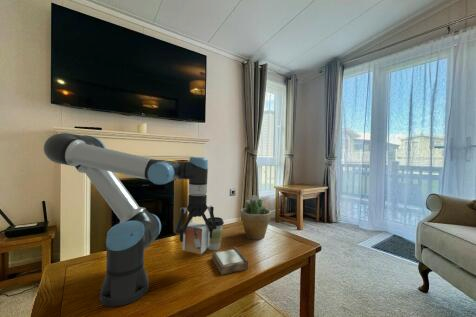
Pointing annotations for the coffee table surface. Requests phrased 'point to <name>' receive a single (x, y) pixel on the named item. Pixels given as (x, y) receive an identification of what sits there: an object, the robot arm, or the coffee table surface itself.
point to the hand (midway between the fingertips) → (195, 247)
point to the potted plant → (255, 218)
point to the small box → (196, 238)
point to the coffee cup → (216, 234)
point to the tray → (230, 261)
